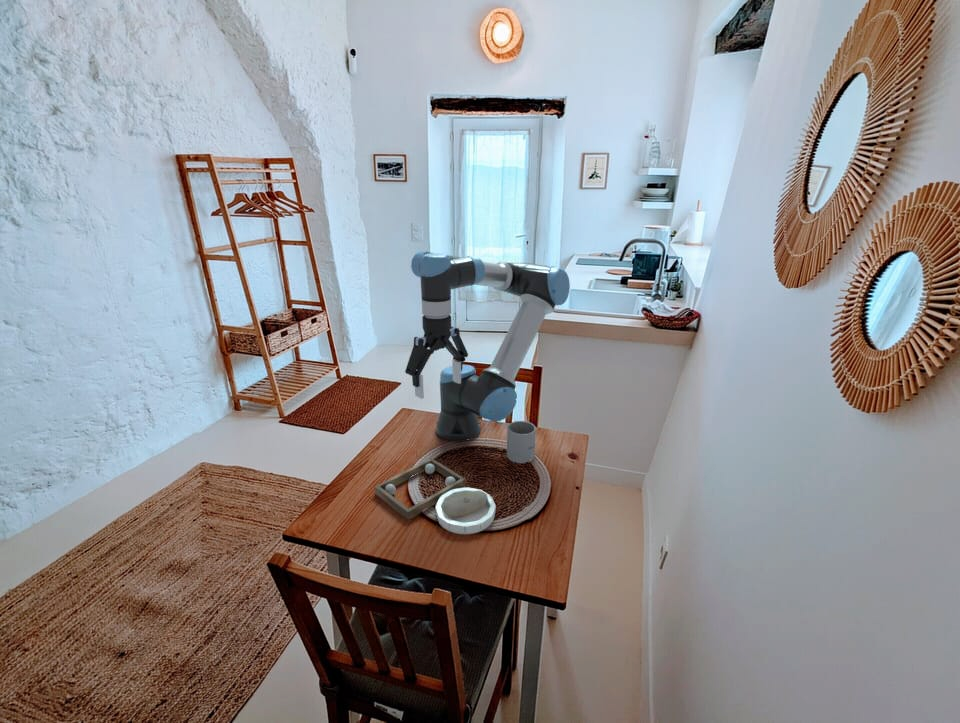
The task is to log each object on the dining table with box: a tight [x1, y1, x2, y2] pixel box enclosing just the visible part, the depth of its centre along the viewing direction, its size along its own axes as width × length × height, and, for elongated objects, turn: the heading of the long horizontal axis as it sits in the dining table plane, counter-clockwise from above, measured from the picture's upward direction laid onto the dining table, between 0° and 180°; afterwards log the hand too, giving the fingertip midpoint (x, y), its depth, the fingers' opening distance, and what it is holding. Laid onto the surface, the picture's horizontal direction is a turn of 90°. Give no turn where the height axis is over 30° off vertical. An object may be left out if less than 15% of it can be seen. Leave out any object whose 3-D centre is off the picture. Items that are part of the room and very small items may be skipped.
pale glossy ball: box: [424, 464, 436, 475], centre depth 138 cm, size 3×3×3 cm
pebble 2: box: [444, 476, 456, 487], centre depth 132 cm, size 3×3×3 cm
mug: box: [506, 420, 537, 464], centre depth 147 cm, size 12×9×10 cm
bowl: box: [435, 486, 497, 535], centre depth 121 cm, size 15×15×3 cm
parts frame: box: [374, 457, 466, 521], centre depth 131 cm, size 20×15×2 cm
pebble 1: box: [385, 484, 397, 496], centre depth 129 cm, size 3×3×3 cm
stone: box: [443, 490, 487, 517], centre depth 121 cm, size 6×6×12 cm
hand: (438, 389), depth 130 cm, fingers open, 13 cm apart
